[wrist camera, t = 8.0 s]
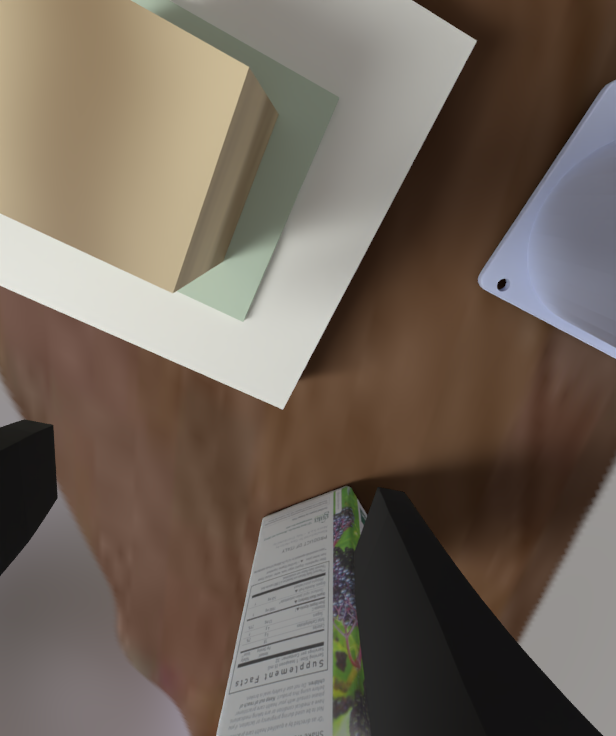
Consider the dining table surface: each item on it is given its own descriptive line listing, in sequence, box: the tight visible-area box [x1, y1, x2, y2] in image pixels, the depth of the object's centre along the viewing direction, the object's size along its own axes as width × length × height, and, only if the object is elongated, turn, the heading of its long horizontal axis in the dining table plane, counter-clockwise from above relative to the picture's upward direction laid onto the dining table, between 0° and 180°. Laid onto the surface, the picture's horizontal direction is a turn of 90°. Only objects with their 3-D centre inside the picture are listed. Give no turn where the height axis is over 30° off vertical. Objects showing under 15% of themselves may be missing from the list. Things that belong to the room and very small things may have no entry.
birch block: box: [0, 0, 279, 293], centre depth 11 cm, size 5×5×5 cm
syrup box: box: [216, 486, 371, 736], centre depth 16 cm, size 6×6×14 cm
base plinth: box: [0, 0, 477, 409], centre depth 14 cm, size 14×14×3 cm
